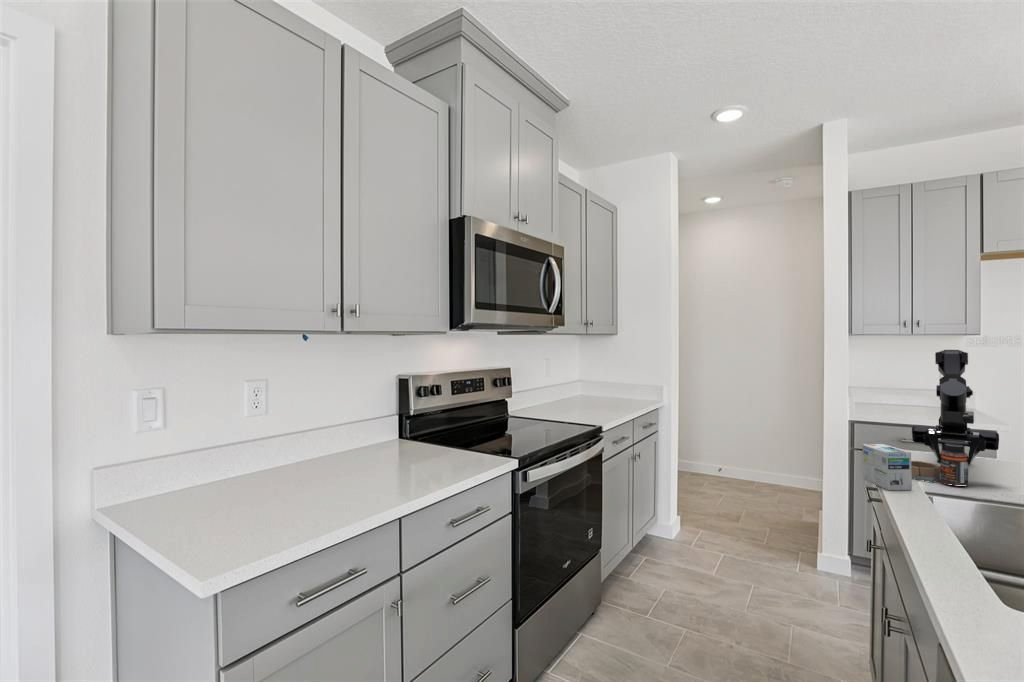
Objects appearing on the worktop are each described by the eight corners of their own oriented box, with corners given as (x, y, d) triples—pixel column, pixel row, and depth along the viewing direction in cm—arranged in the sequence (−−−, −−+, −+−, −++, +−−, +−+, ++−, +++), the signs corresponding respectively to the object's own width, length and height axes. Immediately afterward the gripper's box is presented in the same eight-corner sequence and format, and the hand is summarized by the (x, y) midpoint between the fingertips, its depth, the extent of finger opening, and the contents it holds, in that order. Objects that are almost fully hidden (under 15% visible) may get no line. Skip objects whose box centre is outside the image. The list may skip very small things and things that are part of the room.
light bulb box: (913, 490, 138) (912, 451, 137) (888, 491, 138) (887, 452, 138) (885, 479, 148) (884, 443, 148) (862, 479, 148) (861, 443, 148)
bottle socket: (908, 469, 157) (908, 458, 157) (947, 477, 148) (947, 465, 148) (892, 474, 152) (891, 463, 152) (931, 482, 143) (931, 470, 143)
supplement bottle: (935, 482, 143) (934, 443, 143) (947, 479, 145) (947, 441, 145) (960, 488, 138) (960, 447, 137) (973, 485, 140) (972, 445, 140)
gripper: (911, 398, 150) (910, 441, 142) (998, 402, 138) (1001, 450, 130) (913, 420, 156) (912, 463, 148) (996, 426, 144) (999, 473, 136)
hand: (954, 462), depth 140 cm, fingers closed on supplement bottle, 6 cm apart
